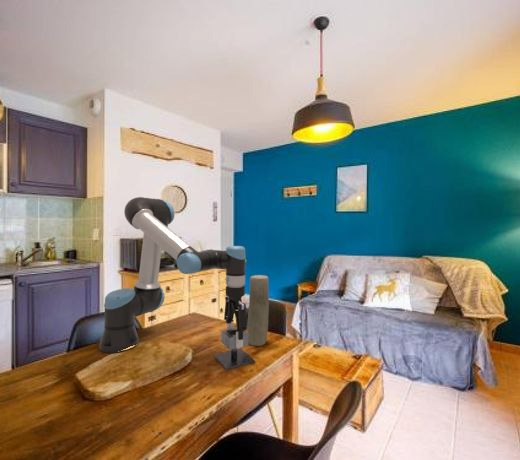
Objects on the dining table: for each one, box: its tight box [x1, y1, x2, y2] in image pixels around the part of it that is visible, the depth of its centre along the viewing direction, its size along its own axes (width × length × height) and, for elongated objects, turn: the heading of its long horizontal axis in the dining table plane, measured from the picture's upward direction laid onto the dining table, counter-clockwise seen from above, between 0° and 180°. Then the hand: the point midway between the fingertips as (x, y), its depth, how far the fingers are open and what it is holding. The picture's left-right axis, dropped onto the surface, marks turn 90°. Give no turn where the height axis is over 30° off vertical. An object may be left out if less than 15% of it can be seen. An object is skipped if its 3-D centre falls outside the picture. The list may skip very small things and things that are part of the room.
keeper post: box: [213, 347, 256, 371], centre depth 111 cm, size 12×12×8 cm
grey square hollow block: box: [220, 327, 249, 351], centre depth 111 cm, size 8×8×4 cm
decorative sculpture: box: [242, 274, 270, 347], centre depth 128 cm, size 14×10×30 cm
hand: (234, 343), depth 111 cm, fingers closed on grey square hollow block, 8 cm apart
